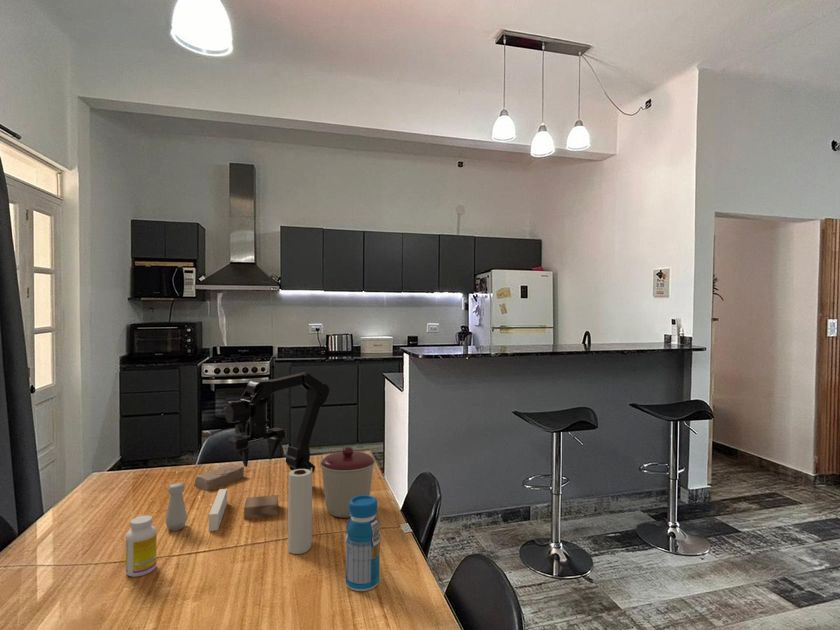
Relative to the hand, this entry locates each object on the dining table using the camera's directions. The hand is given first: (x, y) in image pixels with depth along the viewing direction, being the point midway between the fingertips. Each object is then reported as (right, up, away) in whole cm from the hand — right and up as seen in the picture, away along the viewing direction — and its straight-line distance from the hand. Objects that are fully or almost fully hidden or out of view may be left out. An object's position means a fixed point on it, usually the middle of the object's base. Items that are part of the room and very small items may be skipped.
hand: (258, 462), depth 158 cm
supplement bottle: (-15, -14, -42) cm, 46 cm away
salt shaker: (-18, -14, -19) cm, 29 cm away
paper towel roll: (+23, -14, -30) cm, 40 cm away
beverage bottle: (+41, -14, -46) cm, 63 cm away
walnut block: (+4, -14, -8) cm, 16 cm away
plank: (-9, -14, -11) cm, 19 cm away
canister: (+31, -14, -6) cm, 35 cm away
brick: (-21, -14, +19) cm, 31 cm away
